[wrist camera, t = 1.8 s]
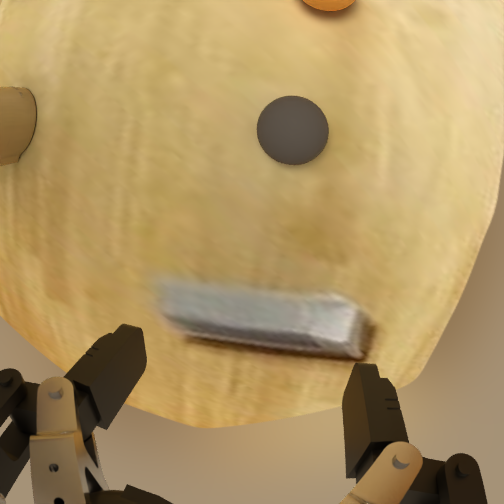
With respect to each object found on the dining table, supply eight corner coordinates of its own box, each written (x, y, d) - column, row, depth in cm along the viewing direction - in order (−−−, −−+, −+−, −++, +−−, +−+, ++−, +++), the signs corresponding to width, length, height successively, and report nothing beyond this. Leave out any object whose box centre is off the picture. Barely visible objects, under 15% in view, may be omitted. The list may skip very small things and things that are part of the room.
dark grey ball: (302, 174, 26) (303, 183, 21) (249, 140, 25) (237, 140, 20) (337, 124, 24) (347, 120, 19) (283, 89, 23) (279, 76, 18)
